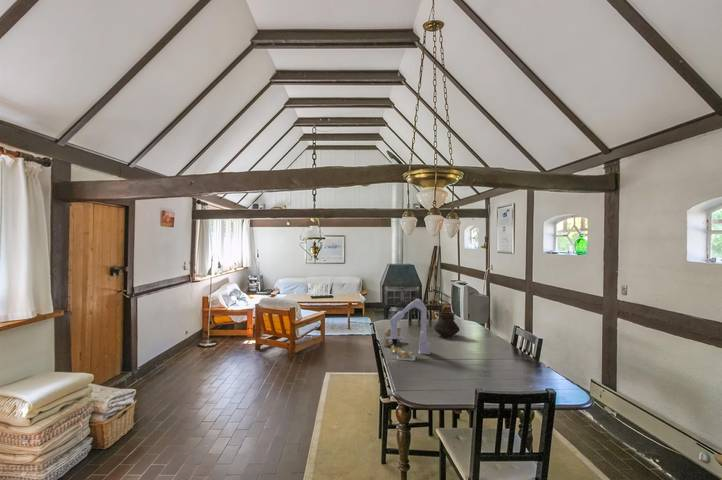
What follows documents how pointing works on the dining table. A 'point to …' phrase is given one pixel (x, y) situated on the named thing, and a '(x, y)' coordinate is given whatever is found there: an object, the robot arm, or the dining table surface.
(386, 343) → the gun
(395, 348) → the ring nut
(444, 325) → the ceramic pot
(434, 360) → the dining table surface
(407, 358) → the peg rack
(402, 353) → the maple spanner
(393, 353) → the nut plinth
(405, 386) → the dining table surface
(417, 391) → the dining table surface
